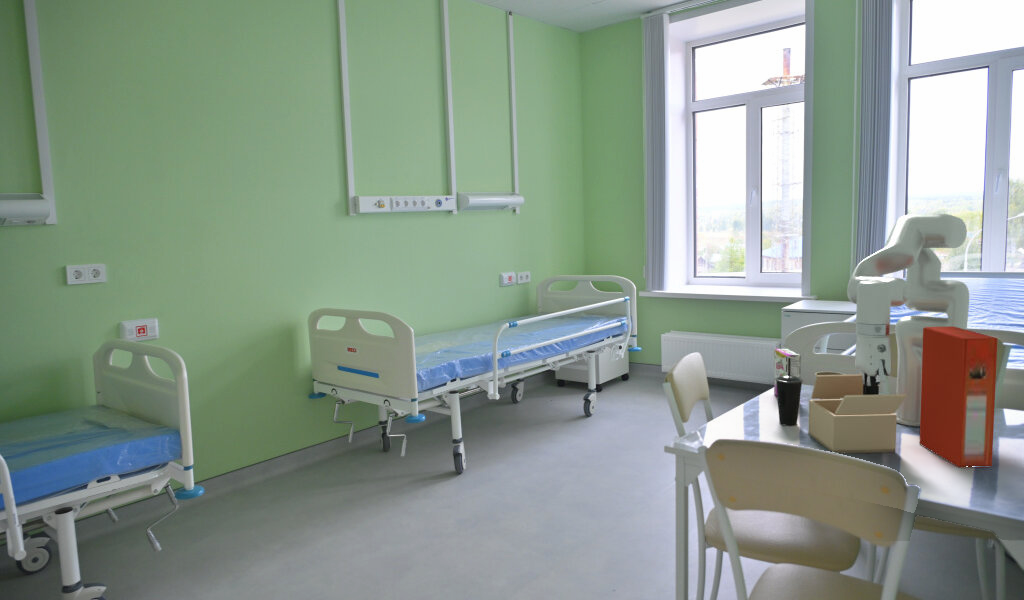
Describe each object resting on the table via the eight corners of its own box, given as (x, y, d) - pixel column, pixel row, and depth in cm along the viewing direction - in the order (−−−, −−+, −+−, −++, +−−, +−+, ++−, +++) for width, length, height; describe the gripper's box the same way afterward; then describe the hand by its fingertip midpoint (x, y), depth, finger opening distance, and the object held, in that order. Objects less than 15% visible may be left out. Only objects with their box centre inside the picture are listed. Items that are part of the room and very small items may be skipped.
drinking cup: (804, 427, 197) (806, 361, 195) (777, 426, 198) (778, 360, 196) (799, 420, 204) (800, 355, 202) (772, 419, 206) (773, 355, 204)
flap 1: (865, 397, 189) (865, 396, 189) (872, 375, 185) (871, 373, 185) (811, 398, 190) (811, 397, 190) (817, 376, 185) (816, 375, 186)
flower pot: (810, 396, 231) (811, 371, 230) (839, 396, 229) (840, 371, 228) (819, 403, 221) (820, 377, 220) (849, 403, 220) (850, 377, 219)
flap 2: (905, 394, 168) (906, 396, 168) (893, 411, 174) (894, 413, 174) (844, 395, 169) (845, 397, 169) (835, 412, 175) (835, 414, 174)
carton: (865, 432, 191) (866, 398, 190) (895, 452, 175) (896, 414, 174) (808, 433, 191) (809, 399, 190) (833, 453, 176) (834, 416, 174)
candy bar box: (772, 394, 234) (773, 348, 232) (787, 394, 233) (788, 348, 232) (785, 403, 222) (786, 355, 220) (800, 403, 222) (801, 354, 220)
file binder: (957, 467, 163) (963, 338, 159) (918, 444, 180) (923, 327, 177) (991, 467, 163) (998, 337, 159) (949, 443, 180) (954, 326, 176)
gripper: (903, 334, 161) (901, 408, 164) (873, 324, 176) (871, 392, 178) (872, 335, 162) (869, 409, 164) (844, 325, 177) (842, 392, 179)
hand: (870, 400), depth 171 cm, fingers closed
